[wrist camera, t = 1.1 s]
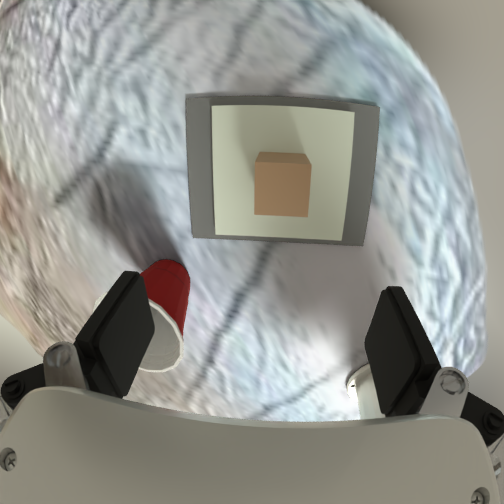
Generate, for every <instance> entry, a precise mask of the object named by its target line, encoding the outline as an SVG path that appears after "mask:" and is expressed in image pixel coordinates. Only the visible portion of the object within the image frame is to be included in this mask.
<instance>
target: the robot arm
mask: <svg viewBox="0 0 504 504" xmlns="http://www.w3.org/2000/svg"><path fill="white" fill-rule="evenodd" d="M154 332H155V324H154V320H153V317H152V312H151V308H150V304H149V300H148V296H147V291H146V287H145V282H144V278H143V276H140V274H139V272H134V271H124V272H123V273H122V274H121V276H120V277H119V278H118V280H117V281H116V282H115V283H114V285H113V286H112V287H111V289H110V290H109V292H108V293H107V294H106V296H105V297H104V298H103V300H102V301H101V302H100V304H99V305H98V307H97V308H96V309H95V311H94V312H93V314H92V315H91V316H90V318H89V319H88V321H87V322H86V324H85V325H84V327H83V328H82V329H81V331H80V332H79V334H78V335H77V337H76V338H75V339H76V341H75V342H74V344H72V343H69V342H63V341H62V342H58V343H55V344H53V345H52V346H50V347H49V348H48V349H47V350H46V352H45V354H44V356H43V363H42V364H39V365H37V366H34V367H32V368H29V369H27V370H24V371H21V372H19V373H16V374H14V375H11V376H10V377H8V378H7V379H6V380H5V381H4V383H3V384H2V387H1V394H0V504H504V415H503V414H502V412H501V411H500V410H498V409H497V408H495V407H493V406H492V405H490V404H489V403H486V402H485V401H483V400H482V399H480V398H478V397H476V396H475V395H473V394H471V393H470V392H468V388H469V384H468V380H467V378H466V376H465V375H464V374H463V373H462V372H461V371H460V370H458V369H456V368H453V367H444V368H441V366H440V363H439V360H438V358H437V356H436V354H435V352H434V349H433V347H432V345H431V343H430V341H429V339H428V337H427V335H426V332H425V330H424V328H423V326H422V324H421V322H420V320H419V318H418V316H417V314H416V312H415V311H414V309H413V307H412V305H411V303H410V301H409V299H408V297H407V295H406V294H405V292H404V290H403V288H402V287H399V286H388V287H387V288H386V290H383V291H382V292H381V295H380V298H379V301H378V304H377V307H376V310H375V313H374V316H373V319H372V322H371V324H370V327H369V330H368V333H367V335H366V338H365V350H366V353H367V357H368V361H369V364H367V365H365V366H363V367H362V368H360V369H359V370H357V371H356V372H355V373H354V374H353V375H352V376H351V378H350V379H349V381H348V383H347V393H348V396H349V397H350V398H351V399H353V400H354V401H357V402H358V406H359V412H360V418H361V420H347V421H324V422H287V421H262V420H248V419H236V418H226V417H217V416H209V415H202V414H195V413H189V412H182V411H177V410H171V409H166V408H161V407H156V406H151V405H146V404H142V403H138V402H133V401H129V400H124V399H122V398H123V396H126V395H127V394H128V392H129V390H130V387H131V385H132V383H133V380H134V378H135V376H136V373H137V371H138V369H139V366H140V364H141V362H142V359H143V357H144V355H145V353H146V351H147V348H148V346H149V344H150V342H151V339H152V337H153V335H154Z"/></svg>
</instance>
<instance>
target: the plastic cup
mask: <svg viewBox="0 0 504 504" xmlns="http://www.w3.org/2000/svg"><path fill="white" fill-rule="evenodd" d="M140 276H143V278H144V282H145V287H146V291H147V296H148V300H149V304H150V308H151V312H152V317H153V320H154V324H155V332H154V335H153V337H152V339H151V342H150V344H149V346H148V348H147V351H146V353H145V355H144V357H143V359H142V362H141V364H140V366H139V369H141V370H144V371H147V372H165V371H168V370H170V369H173V368H175V367H176V366H177V365H178V364H179V362H180V361H181V359H182V358H183V342H184V339H183V328H184V322H185V317H186V311H187V306H188V296H189V291H190V277H189V275H188V272H187V271H186V269H185V268H184V267H183V266H182V265H181V264H179V263H177V262H175V261H173V260H168V259H164V260H159V261H158V262H155V263H154V264H153V265H151V266H150V267H149V268H148V269H146V270H145V271H143V272H142V273H141V274H140ZM107 293H108V292H106V293H104V294H103V295H102V296H101V297H100V298H99V299H97V300H96V301H95V305H94V309H93V312H94V311H95V309H96V308H97V307H98V305H99V304H100V302H101V301H102V300H103V298H104V297H105V296H106V294H107ZM92 314H93V313H92Z"/></svg>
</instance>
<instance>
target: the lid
mask: <svg viewBox="0 0 504 504" xmlns="http://www.w3.org/2000/svg"><path fill="white" fill-rule="evenodd" d="M354 114H355V112H349V111H340V110H331V109H321V108H310V107H295V106H273V105H222V106H212V150H213V186H214V212H215V234H216V235H238V236H260V237H281V238H301V239H320V240H338V241H342V234H343V227H344V220H345V213H346V205H347V197H348V188H349V179H350V169H351V158H352V146H353V131H354Z"/></svg>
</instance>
